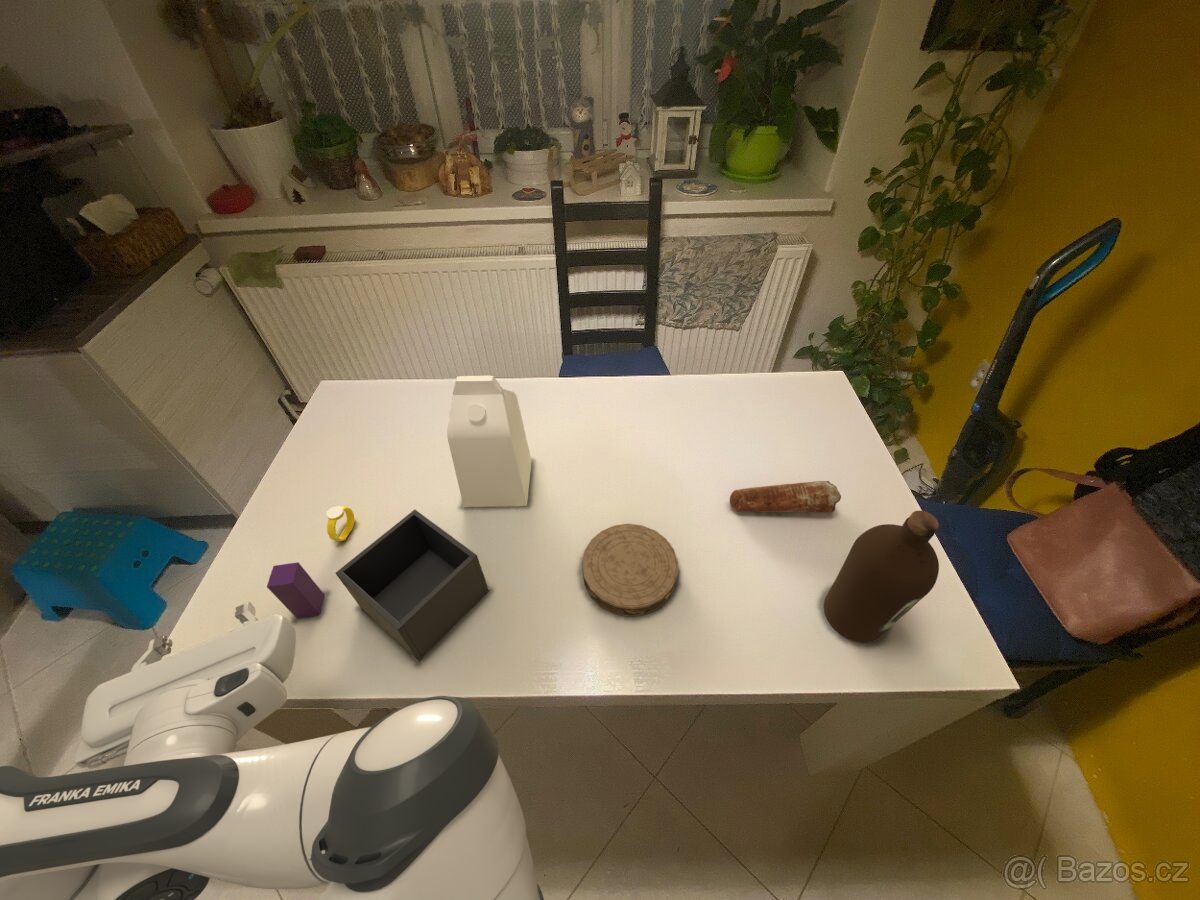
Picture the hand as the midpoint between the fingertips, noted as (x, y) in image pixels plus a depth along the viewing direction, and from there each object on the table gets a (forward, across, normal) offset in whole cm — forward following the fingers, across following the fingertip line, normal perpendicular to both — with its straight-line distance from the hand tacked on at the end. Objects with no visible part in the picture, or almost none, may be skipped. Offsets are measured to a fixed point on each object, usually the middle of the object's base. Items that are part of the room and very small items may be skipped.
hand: (204, 623), depth 63 cm
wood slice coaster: (-6, +55, -19) cm, 59 cm away
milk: (+22, +42, -15) cm, 50 cm away
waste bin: (+4, +23, -17) cm, 29 cm away
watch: (+23, +13, -14) cm, 30 cm away
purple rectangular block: (+11, +6, -15) cm, 20 cm away
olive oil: (-29, +84, -23) cm, 92 cm away
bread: (-7, +87, -20) cm, 90 cm away
